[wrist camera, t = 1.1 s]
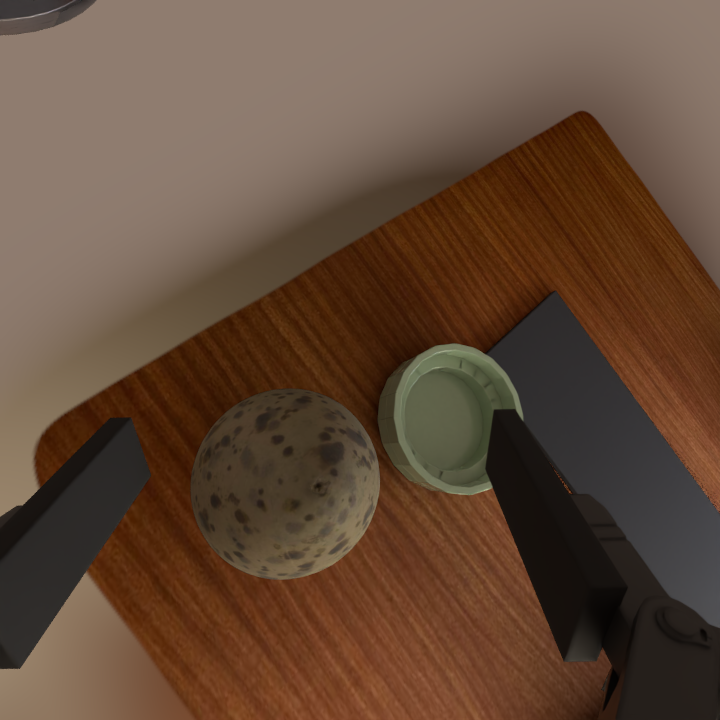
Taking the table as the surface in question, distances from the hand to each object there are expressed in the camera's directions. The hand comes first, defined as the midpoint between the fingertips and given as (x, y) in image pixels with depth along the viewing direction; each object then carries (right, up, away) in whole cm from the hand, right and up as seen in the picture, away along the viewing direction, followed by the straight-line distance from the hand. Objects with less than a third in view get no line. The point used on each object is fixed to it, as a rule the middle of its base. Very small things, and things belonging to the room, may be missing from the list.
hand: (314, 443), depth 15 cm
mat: (+32, -12, +27) cm, 44 cm away
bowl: (+9, -2, +21) cm, 23 cm away
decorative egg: (-5, -6, +16) cm, 17 cm away
